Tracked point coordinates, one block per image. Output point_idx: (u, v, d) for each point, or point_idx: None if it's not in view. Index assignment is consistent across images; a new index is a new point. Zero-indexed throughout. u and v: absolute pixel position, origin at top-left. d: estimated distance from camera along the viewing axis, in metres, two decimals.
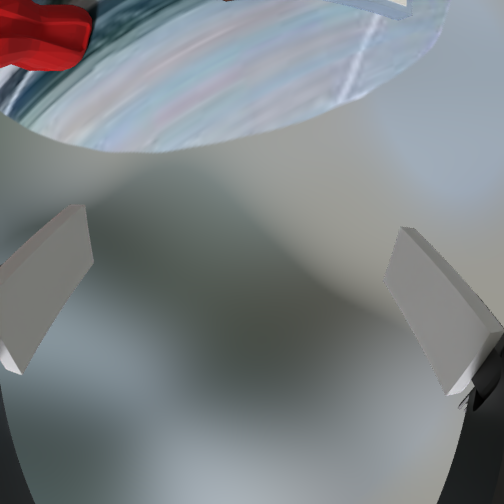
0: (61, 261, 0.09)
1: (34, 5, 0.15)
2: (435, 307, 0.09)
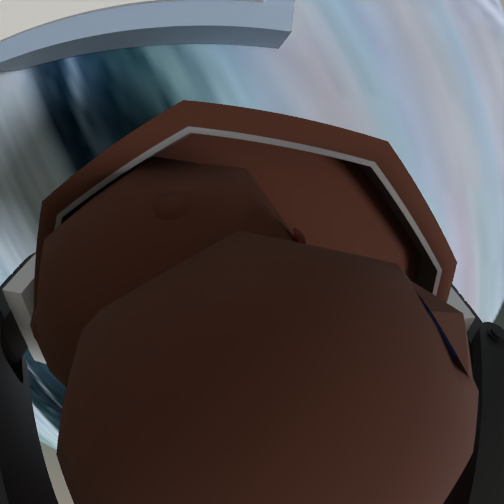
0: None
1: None
2: None
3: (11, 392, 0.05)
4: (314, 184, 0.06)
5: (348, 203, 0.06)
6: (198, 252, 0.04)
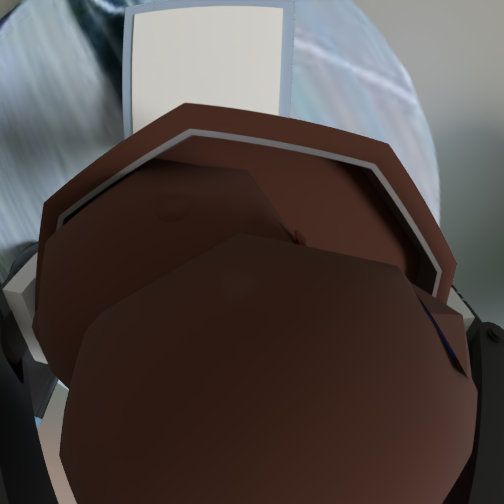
0: None
1: None
2: None
3: (11, 392, 0.05)
4: (315, 186, 0.06)
5: (348, 205, 0.06)
6: (200, 254, 0.04)
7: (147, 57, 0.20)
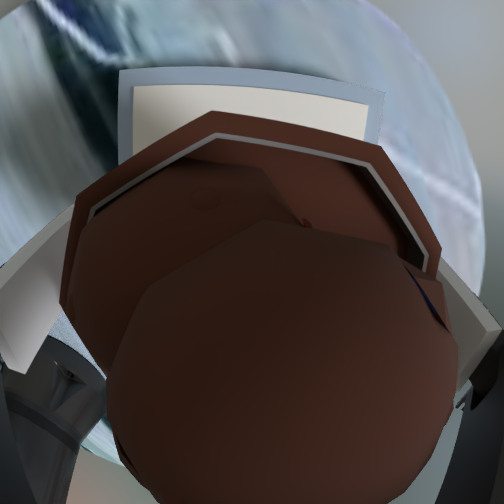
0: None
1: None
2: None
3: None
4: (318, 181, 0.07)
5: (347, 197, 0.07)
6: (232, 236, 0.05)
7: None
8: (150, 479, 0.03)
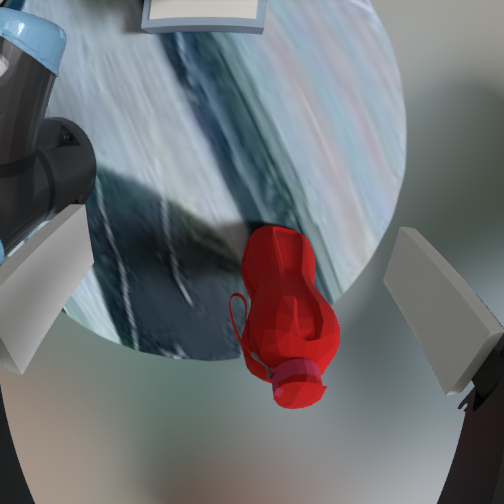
0: (61, 261, 0.09)
1: (271, 281, 0.32)
2: (435, 307, 0.09)
3: None
4: None
5: None
6: None
7: None
8: None
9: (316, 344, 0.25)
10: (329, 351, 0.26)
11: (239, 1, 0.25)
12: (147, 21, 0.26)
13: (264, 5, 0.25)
